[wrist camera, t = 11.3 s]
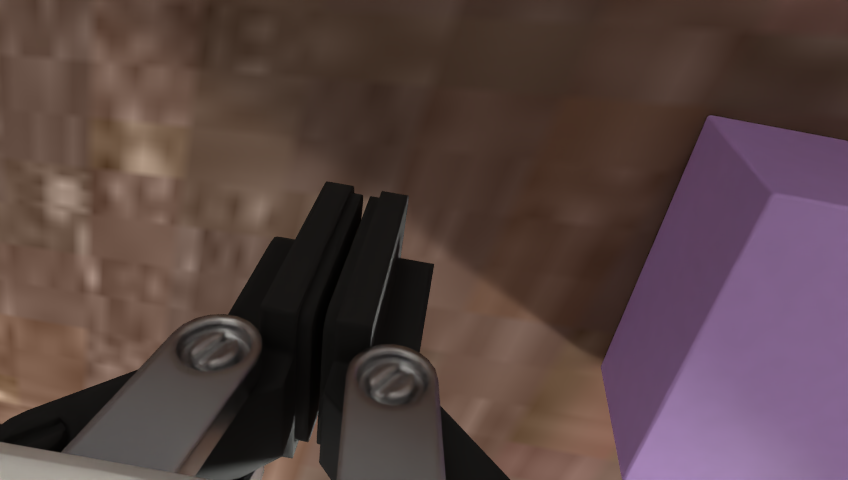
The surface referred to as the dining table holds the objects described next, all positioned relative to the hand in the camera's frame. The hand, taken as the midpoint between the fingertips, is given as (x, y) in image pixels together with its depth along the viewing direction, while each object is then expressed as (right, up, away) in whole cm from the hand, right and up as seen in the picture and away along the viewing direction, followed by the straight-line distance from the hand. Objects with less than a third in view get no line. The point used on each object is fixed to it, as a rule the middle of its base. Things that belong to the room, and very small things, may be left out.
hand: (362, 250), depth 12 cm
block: (+10, -1, +3) cm, 10 cm away
